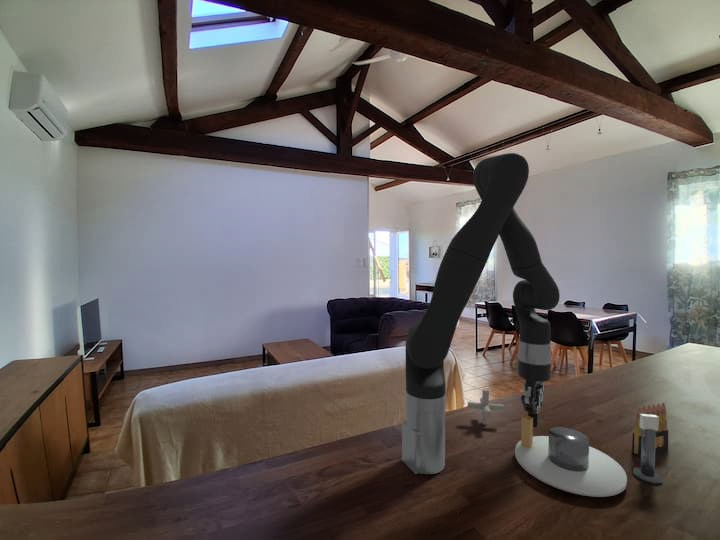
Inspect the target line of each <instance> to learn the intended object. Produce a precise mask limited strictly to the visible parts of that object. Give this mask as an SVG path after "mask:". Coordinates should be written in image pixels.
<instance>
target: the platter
mask: <svg viewBox="0 0 720 540" xmlns="http://www.w3.org/2000/svg"><path fill="white" fill-rule="evenodd" d="M520 429H521V430H520V431H521V434H520V436H521V437H520V440H519V441H518V442H517V443H516V445H515V448H514V449H515V451H514V454H515V455H514V456H515V458H516V461H517V463H518V464H519V465H520V466H521V468H522V469H524V471H525V472H527V473H529V474H530V475H531V476H533V477H534V478H536V479H537V480H539V481H541V482H542V483H545V484H547V485H549V486H551V487H553V488H556V489H558V490H561V491H565V492H567V493H571V494H575V495H580V496H586V497H587V496H588V497H596V498H603V497H604V498H605V497H611V496H616V495H619V494H621V493H622V492H624V490H625V489H626V488H627V484H628V476H627V473H626V471H625V469H624V468H623V467H622V466H621V464H619V463H618V462H617V461H616V460H614V459H613V458H612V457H611V456H609V455H608V454H606V453H604V452H603V451H601V450H599V449H597V448H594V447H592V446H590V445H589V468H588V469H587V470H586V471H582V472H575V471H570V470H566V469H563V468H561V467H558V466H557V465H555V464H553V463H552V462H551V461H550V460H549V458H548V443H549V435H533V434H534V427H533V417H529V416H528V415H527V414H526V415H525V414H524V415H522V417H521V426H520Z"/></svg>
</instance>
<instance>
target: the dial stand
mask: <svg viewBox="0 0 720 540" xmlns="http://www.w3.org/2000/svg"><path fill="white" fill-rule="evenodd" d="M658 425H659V417H657V416H656V415H649V414H640V428H642V441H641V456H640V466H635V467H633V469H632V473H633V476H634V477H635V478H637V479H638V480H640V481H643V482H645V483H648V484H650V485H651V484H652V485H662V483H663V477H662V475H661V474H660V473H659V472H656V471H655V469H656V467H655V466H656V463H655V462H656V453H655V443H656V431H658Z"/></svg>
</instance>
